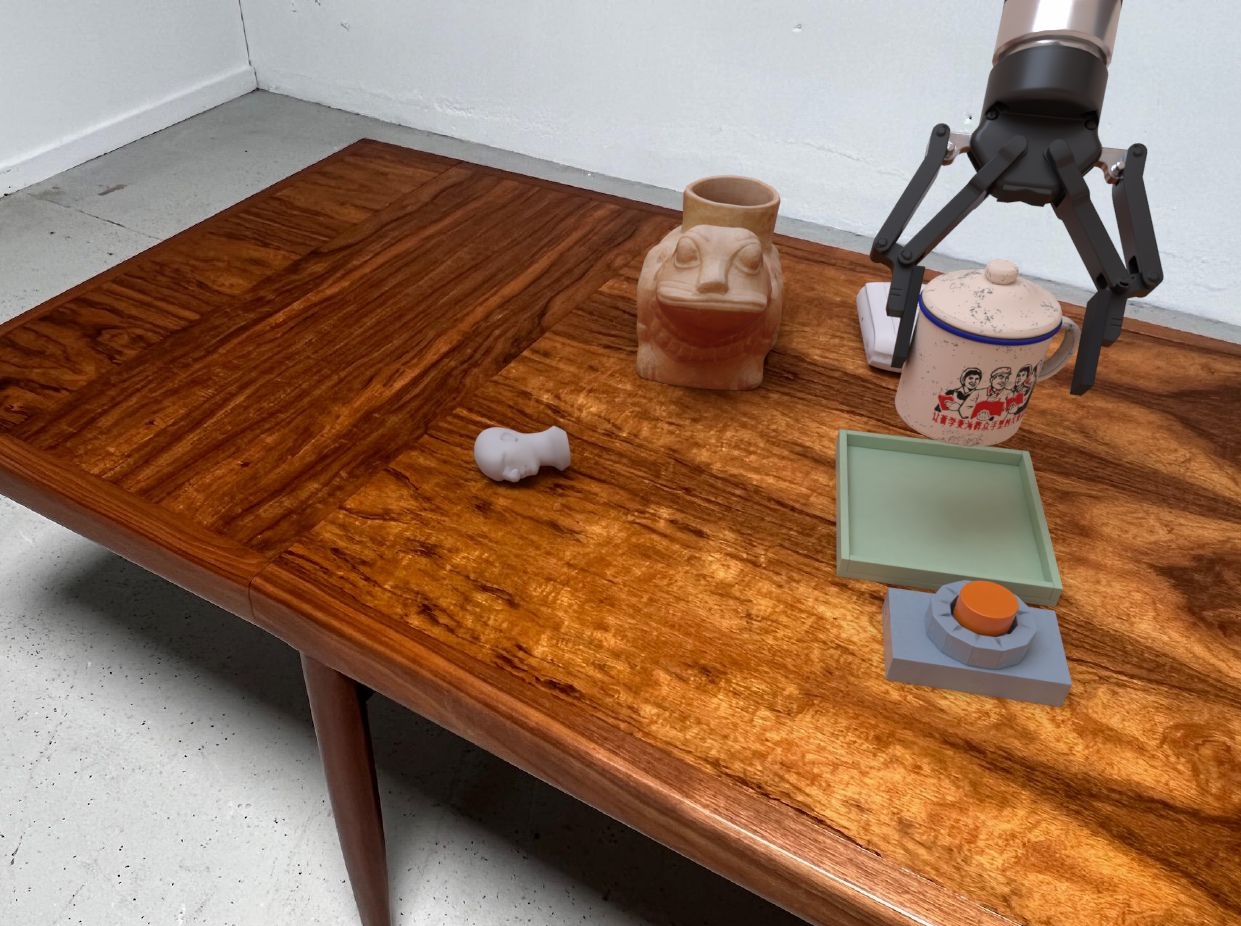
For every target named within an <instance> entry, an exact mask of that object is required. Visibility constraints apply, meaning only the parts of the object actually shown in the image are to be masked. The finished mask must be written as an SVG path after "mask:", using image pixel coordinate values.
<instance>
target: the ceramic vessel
mask: <svg viewBox="0 0 1241 926" xmlns="http://www.w3.org/2000/svg"><path fill="white" fill-rule="evenodd" d="M780 205H781V196H780V194H779V191H778V190H777V189H776V188H775V187H773V186H772V185H769V184H767V183H766V182H764V181H763V180H760V179H757V178H755V177H749V176H744V175H734V174H733V175H732V174H722V175H710V176H705V177H701V178H700V179H697V180H695V181H693V182H690V183H689V184H688V185H686V187H685V189H684V190H683V195H682V221H681V222H682V223H681V225H679V226H677V227H676V228H674V229H672V230H671V231H670V232H668V234H667V235H665V236H664V237H663V238H662V239H661V240H660V242H659V243H658V244H657V245H655V246H653V247H652V248H651V249H650V250H649V251H648V252H647V254H646V256H645V258H644V260H643V264H642V267H641V271H640V275H639V277H638V281H637V287H636V288H637V289H636V309H637V310H636V311H637V313H636V314H637V319H636V336H637V342H638V346H637V351H636V352H637V353H636V360H635V372H636V374H637V375H638V376H639V377H640V378H643V379H645V380H649V381H654V382H659V383H662V384H667V385H672V386H678V387H685V388H693V389H703V390H704V389H705V390H720V391H721V390H723V391H752V390H756V389H758V388H759V387H760V386H762V383H763V381H764V363H765V358H766V357H767V355H768V353H769V352H770V351H772V350H773V349H774V347H775V345H776V344H777V340H778V335H779V331H780V327H781V323H782V311H783V302H784V299H785V284H784V283H785V282H784V276H783V275H784V274H783V269H782V264H781V257H780V253H779V251H778V249H777V247H776V246H775V245H774V243H773V239H774V233H775V228H776V223H777V220H778V219H777V218H778V215H779V214H778V213H779V211H780V210H779V209H780Z"/></svg>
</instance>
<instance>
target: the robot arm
mask: <svg viewBox="0 0 1241 926" xmlns="http://www.w3.org/2000/svg"><path fill="white" fill-rule="evenodd" d="M1123 1H1124V0H1003V6H1002V12H1001V16H1000V21H999V24H998V25H999V26H998V31H997V36H996V39H995V44H994V49H993V54H992V60H991V65H992V68H991V69H990V71H989V74H988V79H987V84H986V88H985V93H984V97H983V103H982V108H981V113H980V119H979V123H978V126H977V127H976V128H975V130H974V131H973V132H972V133H970V132H961V131H959V132H958V131H951V128H950V125H948V124H947V123H944V122H940V123H937V124H936V125H934V126H933V128H932V130H931V132H930V136H929V138H928V141H927V144H926V148H925V152H924V153H925V154H924V157H923V158H924V159H923V160H922V162H921V163H920V165H919V167H918V168H917V169H916V171H915V173H914V175H913V176H912V178H911V180H910V181H909V182H908V184H907V186H906V187H905V189H904V191H903V192H902V194H901V196H900V197H899V198H898V200H897V202H896V203H895V205H894V207H892V210H891V212H890V213H889V215H888V216H887V218H886V219H885V221H884V223H883V224H882V226H881V227H880V229H879V231H878V232H877V234H876V235H875V237H874V239H873V242H872V245H871V248H870V252H869V259H870V261H871V262H872V263H874V264H882V265H884V266H885V267H887V268H888V269H889V270H890V272H891V280H890V282H891V284H890V289H889V294H888V299H887V304H886V314H887V316H889V317H896V318H900V323H899V328H898V332H897V337H896V342H895V347H894V352H893V357H892V362H891V367H893V368H899V369H902V367H903V365H904V363H905V361H906V359H907V355H908V351H909V346H910V341H911V336H912V331H913V326H914V321H915V316H916V311H917V306H918V301H919V296H920V291H921V286H922V284H923V280H924V275H925V270H926V266H924V265H919V264H920V263H921V262H923V260H924V259H925V258H926V257H927V256H928V255H929V254H930V253H931V252H932V251H933V250H934V249H935V248H936V247H938V245H939V244H940V243H941V242H942V241H943V240H945V238H947V236H948V235H949V234H951V233H952V231H953V230H955V229H956V227H958V226H959V225H960V224H961V223H962V222H963V221H964V220H965V219H966V218H967V217H968V216H969V215H970V214H971V213H972V212H974V210H976V209H977V208H978V207H980V206H981V205H982V204H983V202H984V201H986V199H988V198H989V196H991V197H993V198H994V199H996V203H1005V204H1011V203H1019V202H1021V203H1024V204H1025V205H1026V204H1027V205H1029V206H1032V207H1038V208H1039V207H1040V208H1044V207H1045V206H1046V205H1050V206H1051V208H1052V210H1053V212H1054V214H1055V217H1056V218H1057V219H1058V220H1060V221H1062V223H1063V226H1064V227H1065V230H1066V231H1067V233H1068V235H1069V237H1070V239H1071V241H1072V244H1073V245H1074V247H1075V249H1076V251H1077V253H1078V255H1079V257H1080V259H1081V261H1082V263H1083V266H1084V267H1085V269H1086V271H1087V273H1088V275H1089V277H1090V279H1091V281H1092V283H1093V285H1094V286H1095V289H1096V292H1095V293H1094V294H1093V295H1092V296H1091V297H1090V299H1088V301H1087V302H1086V306H1085V311H1084V316H1083V321H1082V327H1081V330H1080V333H1081V336H1080V342H1079V345H1078V348H1077V351H1076V352H1077V353H1076V358H1075V363H1074V368H1073V373H1072V377H1071V383H1070V389H1069V395H1071V396H1077V397H1082V396H1083V395H1085V394H1086V393H1087V392H1089V391H1090V390H1091V389H1092V388H1093V387H1094V386H1095V381H1096V375H1097V371H1098V365H1099V360H1100V355H1101V349H1102V348H1108V349H1109V348H1110V347H1111V346H1112V345H1113V344H1115V343H1116V342H1117V341H1118V339H1119V337H1120V336H1121V333H1122V328H1123V324H1124V323H1123V322H1124V318H1125V317H1124V316H1125V313H1126V306H1127V301H1128V299H1134V298H1138V299H1143V298H1145V297H1146V298H1147V296H1148V295H1150V294H1151V293H1152V292H1153V291H1154V290H1155V289H1156V288H1157V287H1159V285H1160V284H1161V283H1163V280H1164V278H1165V277H1164V270H1163V267H1162V261H1161V256H1160V252H1159V246H1158V242H1157V238H1156V232H1155V227H1154V224H1153V219H1152V214H1151V210H1150V204H1149V200H1148V194H1147V190H1146V186H1145V180H1144V173H1145V168H1146V163H1147V157H1148V148H1147V145H1145V144H1144V143H1141V142H1135V143H1133V144H1131V145H1130V146H1129V147H1128V148H1127V149H1124V148H1116V147H1105V146H1103V145H1102V142H1101V139H1100V137H1099V127H1100V121H1101V116H1102V111H1103V106H1104V101H1105V96H1106V91H1107V86H1108V79H1109V70H1108V68H1109V67H1110V65H1111V64H1112V60H1113V55H1114V49H1115V44H1116V37H1117V33H1118V28H1119V27H1118V26H1119V22H1120V16H1121V11H1122V6H1123V3H1124V2H1123ZM961 154H966V156H967V158H968V160H969V162H970V163H971V165H972V167H973V169H974V171H975V172H976V173H975V174H974V175H973V176H972V177H971V178H970V180H969V181H968V182H967V184H966V185H964V186H963V187H962V188H961V189H960V190H959V191H958V192H957V193H956V195H954V196H953V197H952V198H951V200H949V201H948V202H947V203H946V204H945V205H944V206H943V207H942V208H941V209H940V210H939V211H938V212H937V213H936V214H935V215H934V216H933V217H932V218H931V219H930V220H929V221H928V222H927V223H926V224H925V225H924V226H922V228H921V229H920V230H919V231H918V232H917V233H916V234H915V235H914V236H913V237H912V238H911V239H910V240H909V241H908V242H907V243H906V244H905V245H901V244H900V243H897V242H898V240H899V239H900V237H901V236H902V235H903V233H904V231H905V229H906V228H907V226H908V225H909V223H910V222H911V220H912V219H913V217H914V215H915V214H916V211H917V210H918V208H919V207H920V205H921V204H922V202H923V201H924V199H925V198H926V196H927V195H928V193H929V191H930V189H931V188H932V187H933V185H934V183H935V181H936V180H937V177H938V175H939V173H940V170H941V168H942V166H943V167H947V166H950V165H952V164H953V163H955V160H956V159H957V158H958V156H960V155H961ZM1094 168H1098V169H1099V170H1101V171H1102V173H1103V178H1104V180H1105V183H1106V184H1107V185H1112V186H1111V200H1112V206H1113V211H1114V216H1115V221H1116V225H1117V231H1118V235H1119V239H1120V244H1121V250H1122V254H1123V259H1124V260H1122V258H1121V255H1120V254H1119V252H1118V250H1117V247H1116V246H1115V244H1114V242H1113V241H1112V239H1111V237H1110V234H1109V232H1108V231H1107V228H1106V227H1105V225H1104V223H1103V221H1102V219H1101V217H1100V215H1099V212H1098V211H1097V209H1096V207H1095V205H1094V203H1093V201H1092V199H1091V191H1090V188H1089V186H1088V184H1087V182H1086V180H1085V176H1087V174H1089V173H1090V172H1091V171H1092V170H1093V169H1094ZM1123 261H1124V262H1123Z"/></svg>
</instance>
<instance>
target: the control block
mask: <svg viewBox="0 0 1241 926" xmlns="http://www.w3.org/2000/svg"><path fill="white" fill-rule="evenodd" d="M969 582H973V581H969V580H963V581H958V582H954V583H950V584H946V585H943V586H942V587H941V588H940V589H939V590H936V592H935V593H934V592H933V593H931V592H926V591H925V592H924V591H919V590H918V591H917V590H910V589H903V588H897V587H891V586H890V587H888V588H887V591H886V594H885V597H884V600H883V605H882V607H881V619H882V639H883V640H882V641H883V656H884V658H883V659H884V675H885V676H884V677H885V680H886V681H890V682H897V683H903V684H910V685H915V686H921V687H929V688H935V689H942V690H948V691H955V692H961V693H968V694H974V695H979V696H988V697H993V698H1001V699H1004V700H1005V699H1006V700H1012V701H1019V702H1026V703H1031V704H1037V705H1044V706H1045V705H1046V706H1050V707H1051V706H1052V707H1058V708H1062V707H1063V704H1064V702H1065V700H1066V698H1067V696H1068V694H1069V693H1070V691H1071V689H1072V686H1073V682H1072V678H1071V672H1070V670H1069V665H1068V660H1067V656H1066V652H1065V647H1064V643H1063V639H1062V634H1061V629H1060V626H1059V622H1058V618H1057V614H1056V611H1055V610H1053V609H1045V608H1038V607H1032V606H1028V605H1027V603H1024V602H1023V601H1022V600H1021V599H1020V598H1019V597H1018V596H1017V595H1015V594H1014V595H1015V597H1016V598H1017V600H1018V604H1019V608H1018V611H1017V613H1016V616H1015V618H1014V621H1013V623H1012V625H1011V628H1010V630H1009V631H1008V632H1007V633H1005V634H1003V635H1001V636H997V637H990V636H983V635H978V634H976V633H974V632H972V631H970V630H968V629H966V628H964V627H962V626H961V625H960V624H959V623H958V622H957V620H956V619H955V616H954V607H955V604H956V602H957V599H958V596H959V593H960V591H961V589H962V587H963V586H964V585H966V584H967V583H969Z"/></svg>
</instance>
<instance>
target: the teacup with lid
mask: <svg viewBox="0 0 1241 926" xmlns="http://www.w3.org/2000/svg"><path fill="white" fill-rule="evenodd" d="M1019 273H1020V272H1019V266H1018V265H1017V264H1016V263H1015V262H1013V261H1011V260H1008V259H1002V258H1001V259H1000V258H999V259H997V258H996V259H993V260H991V261H989V262H988V263H987V264H986V266H985V268H981V269H959V270H952V271H948V272H945V273H943V274H940V275H937V276H936V277H934V278H933V279H931V280H930V281H929V282H928V283H926V286H925V287H924V289H923V290H922V292H921V293H920V296H919V307H920V309H919V313H918V317H917V320H916V324H915V328H914V331H913V335H912V338H911V342H910V346H909V351H908V355H907V359H906V361H905V364H904V367H903V371H902V373H901V374H900V379H899V382H898V385H897V389H896V393H895V397H894V406H895V409H896V412H897V413H898V415H899V417H900V419H901V420H902V421H903V422H904V423H905V424H906V425H908V426H909V428H911V429H913V430H914V431H916V432H917V433H918V434H921V435H924V437H927V438H928V439H931V440H937V441H940V442H944V443H948V444H952V445H958V446H969V447H979V446H988V447H990V446H993V445H997V444H1001V443H1003V442H1005V441H1007V440H1009V439H1010V438H1012V437H1013V436H1015V434H1016V433H1017V432H1018V431H1019V428H1020V427H1021V424H1022V421H1023V419H1024V416H1025V414H1026V411H1027V408H1028V406H1029V403H1030V401H1031V397H1032V395H1033V392H1034V389H1035V387H1036V385H1037V383H1039V382H1043V381H1045V380H1047V379H1049V378H1051V377H1053V376H1054V375H1056V374H1058V372H1060V371H1061V370H1062V369H1063V368H1064V367H1066V365H1067V364H1068V363H1069V362H1070V361H1071V359H1072V358H1073V357H1074V355H1075V354H1076V352H1077V351H1078V347H1079V342H1080V336H1081V330H1080V327H1079V326H1078V325H1077V323H1076V322H1075V321H1074V320H1072V319H1071V318H1069V317H1067V316H1065V315H1063V310H1062V307H1061V304H1060V302H1059V301H1058V300H1057V298H1056V297H1055V296H1054V295H1053V294H1052V293H1051V292H1050V291H1049V290H1047V289H1046V288H1044V287H1043V286H1041V285H1040V284H1037V283H1035V282H1033V281H1031V280H1029V279H1027V278H1024V277H1022V276H1021V275H1019ZM1060 331H1064V335H1063V339H1062V341H1061V343H1060V344H1059V346H1058V347H1057V349H1056V350H1055V352H1054V353H1053V354H1052V355H1051V356H1050V357H1049V358H1048V359H1047V360H1046V357H1047V354H1048V351H1049V349H1050V346H1051V344H1052V341H1053V338H1054V336H1055V335H1057V334H1058V333H1059V332H1060Z"/></svg>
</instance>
